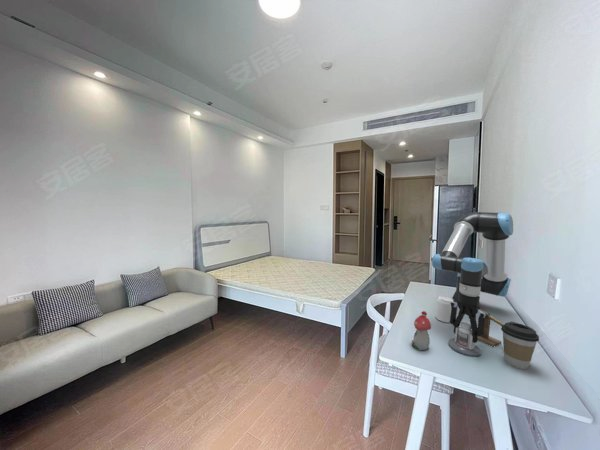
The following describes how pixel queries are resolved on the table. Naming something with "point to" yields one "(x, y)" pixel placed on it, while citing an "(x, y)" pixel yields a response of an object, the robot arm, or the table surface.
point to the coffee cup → (518, 344)
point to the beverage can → (444, 309)
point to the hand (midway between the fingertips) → (464, 344)
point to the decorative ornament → (421, 332)
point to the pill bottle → (464, 335)
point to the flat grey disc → (464, 349)
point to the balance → (486, 337)
